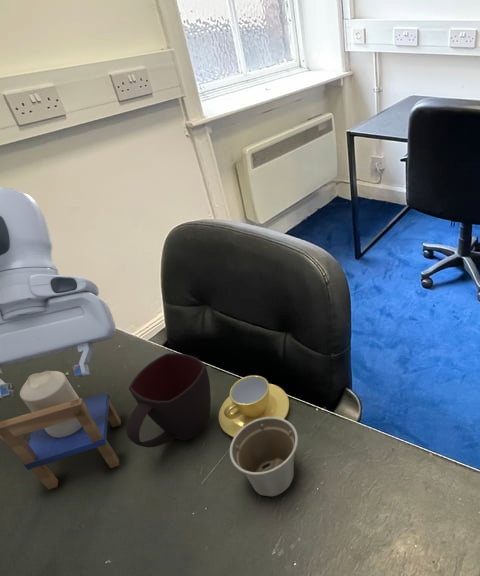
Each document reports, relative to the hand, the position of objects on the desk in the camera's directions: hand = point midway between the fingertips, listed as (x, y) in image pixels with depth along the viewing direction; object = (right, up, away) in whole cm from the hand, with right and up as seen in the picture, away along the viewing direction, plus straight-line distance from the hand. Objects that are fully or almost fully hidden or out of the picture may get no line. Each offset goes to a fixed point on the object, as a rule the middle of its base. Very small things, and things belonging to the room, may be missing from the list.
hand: (45, 386), depth 64 cm
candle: (+1, -7, +4) cm, 8 cm away
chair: (+1, -12, +8) cm, 14 cm away
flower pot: (+32, -15, +4) cm, 36 cm away
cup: (+26, -7, +13) cm, 31 cm away
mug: (+15, -10, +10) cm, 21 cm away
